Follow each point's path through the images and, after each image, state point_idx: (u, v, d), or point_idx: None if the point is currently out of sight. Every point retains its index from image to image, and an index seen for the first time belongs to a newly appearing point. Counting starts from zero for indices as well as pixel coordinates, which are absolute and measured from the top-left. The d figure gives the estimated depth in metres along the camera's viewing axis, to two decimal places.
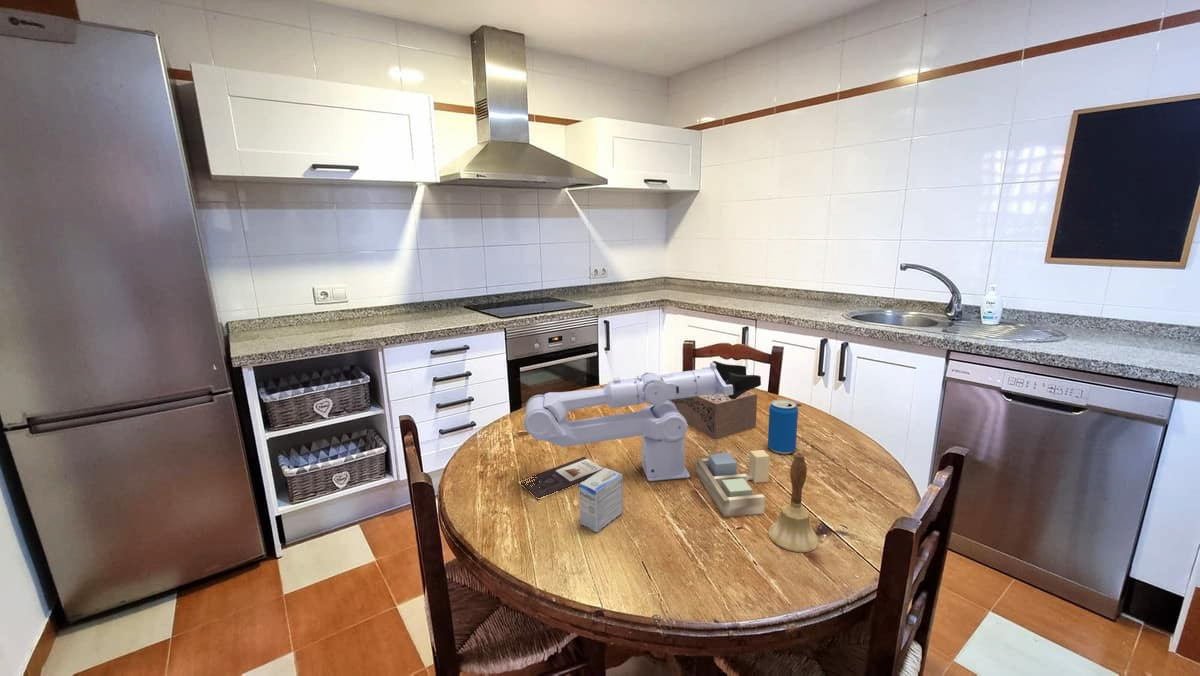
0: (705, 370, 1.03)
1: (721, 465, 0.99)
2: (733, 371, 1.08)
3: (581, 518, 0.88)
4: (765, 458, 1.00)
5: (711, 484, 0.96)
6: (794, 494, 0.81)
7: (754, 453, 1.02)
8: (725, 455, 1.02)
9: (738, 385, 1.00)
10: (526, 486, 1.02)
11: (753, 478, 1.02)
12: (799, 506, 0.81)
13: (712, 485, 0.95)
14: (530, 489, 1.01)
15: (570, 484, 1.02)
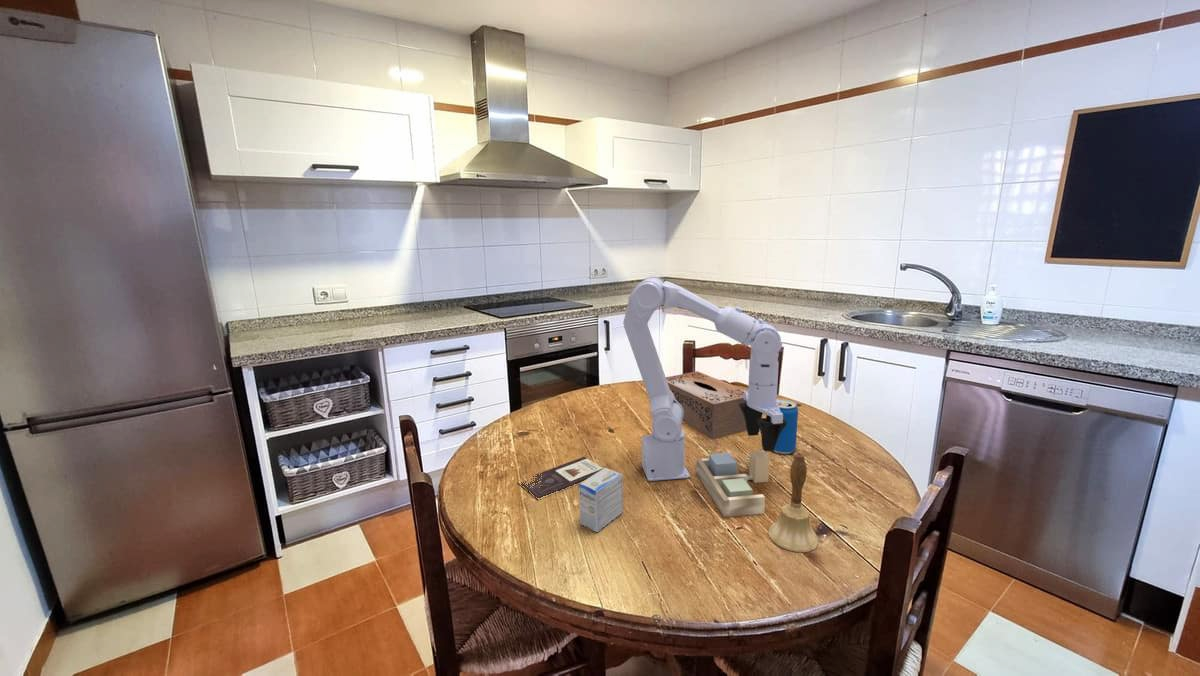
0: None
1: (721, 465, 0.99)
2: (754, 422, 1.04)
3: (581, 518, 0.88)
4: (765, 458, 1.00)
5: (711, 484, 0.96)
6: (794, 494, 0.81)
7: (754, 453, 1.02)
8: (725, 455, 1.02)
9: (769, 429, 0.96)
10: (526, 486, 1.02)
11: (753, 478, 1.02)
12: (799, 506, 0.81)
13: (712, 485, 0.95)
14: (530, 489, 1.01)
15: (570, 484, 1.02)
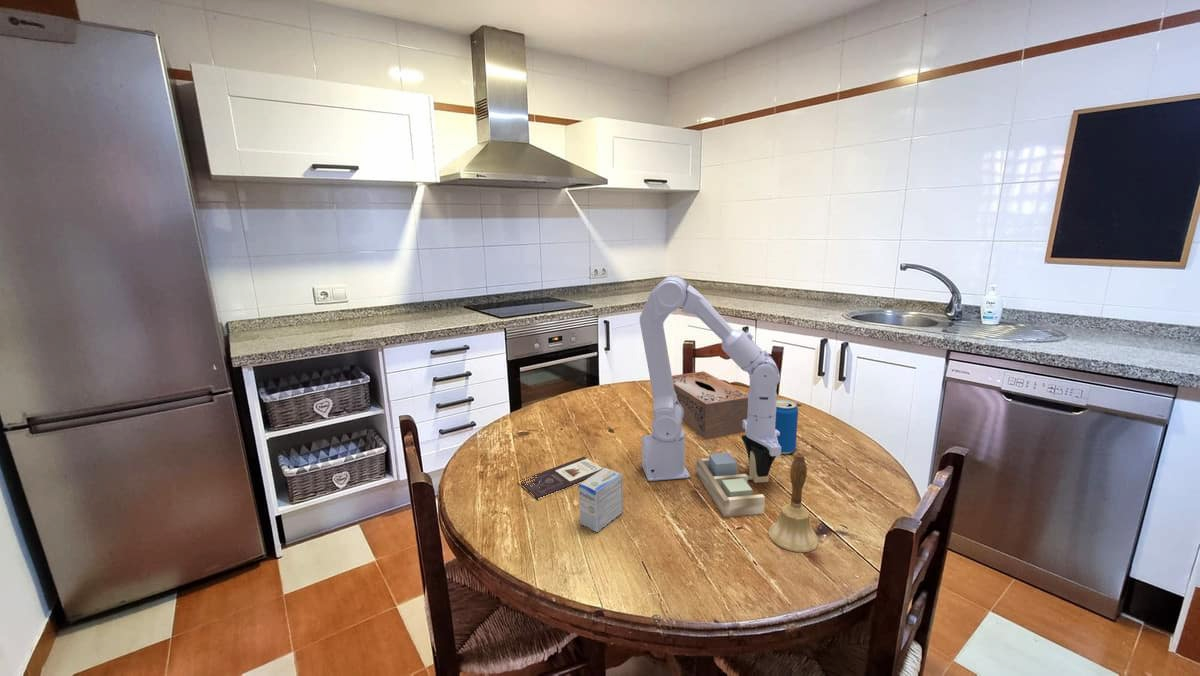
0: None
1: (721, 465, 0.99)
2: None
3: (581, 518, 0.88)
4: None
5: (711, 484, 0.96)
6: (794, 494, 0.81)
7: None
8: (725, 455, 1.02)
9: (763, 455, 0.99)
10: (526, 486, 1.02)
11: (753, 478, 1.02)
12: (799, 506, 0.81)
13: (712, 485, 0.95)
14: (530, 489, 1.01)
15: (570, 484, 1.02)
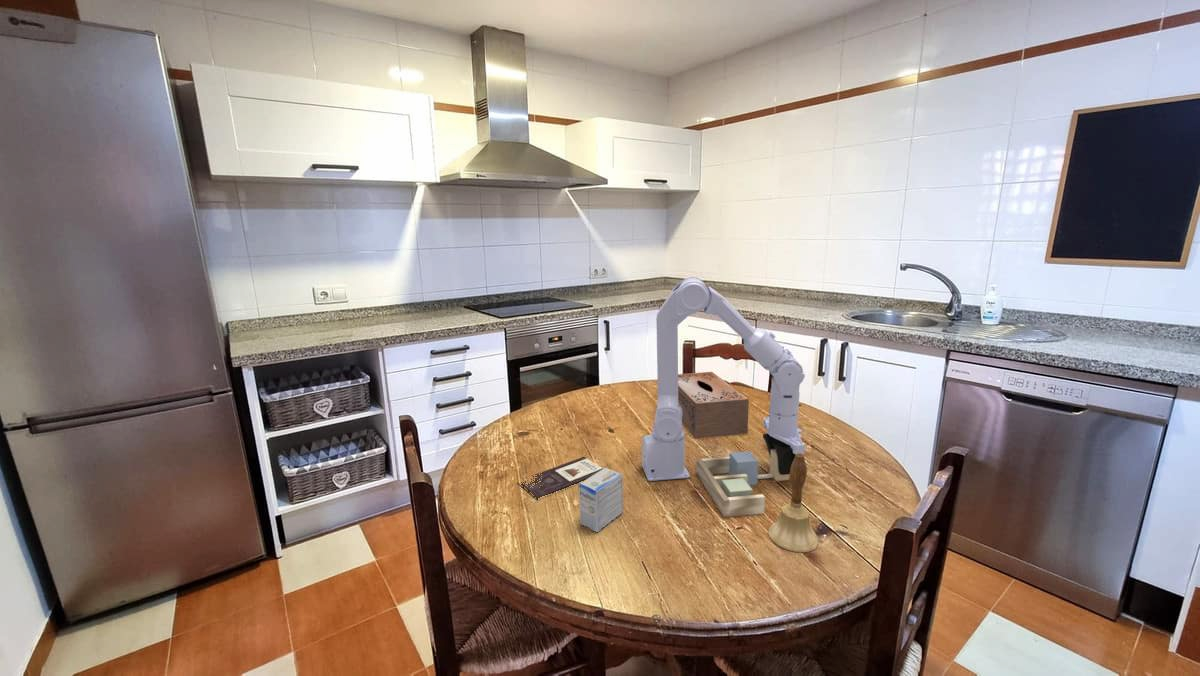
0: None
1: (743, 463, 0.99)
2: None
3: (581, 518, 0.88)
4: None
5: (711, 484, 0.96)
6: (794, 494, 0.81)
7: (775, 451, 1.02)
8: (746, 453, 1.03)
9: (785, 453, 1.00)
10: (526, 486, 1.02)
11: (774, 476, 1.02)
12: (799, 506, 0.81)
13: (712, 485, 0.95)
14: (530, 489, 1.01)
15: (570, 484, 1.02)
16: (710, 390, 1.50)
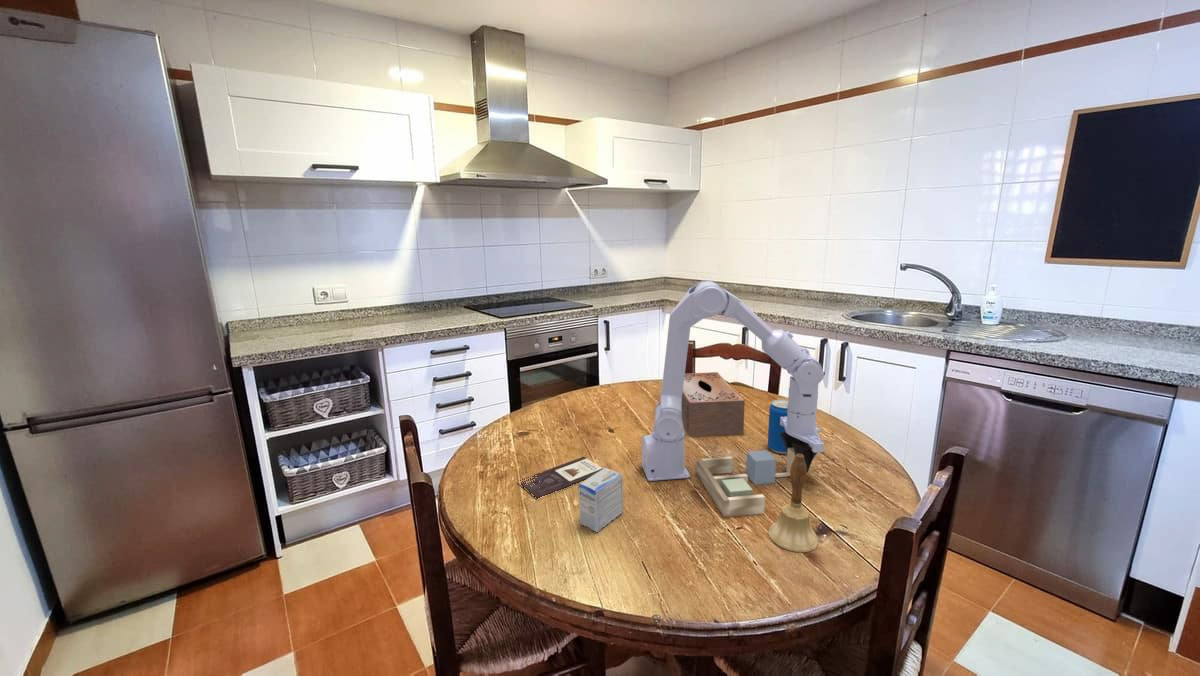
0: None
1: (760, 462, 1.00)
2: None
3: (581, 518, 0.88)
4: None
5: (711, 484, 0.96)
6: (794, 494, 0.81)
7: (792, 450, 1.03)
8: (763, 452, 1.03)
9: (804, 452, 1.00)
10: (525, 486, 1.02)
11: None
12: (799, 506, 0.81)
13: (712, 485, 0.95)
14: (529, 489, 1.01)
15: (569, 484, 1.02)
16: None
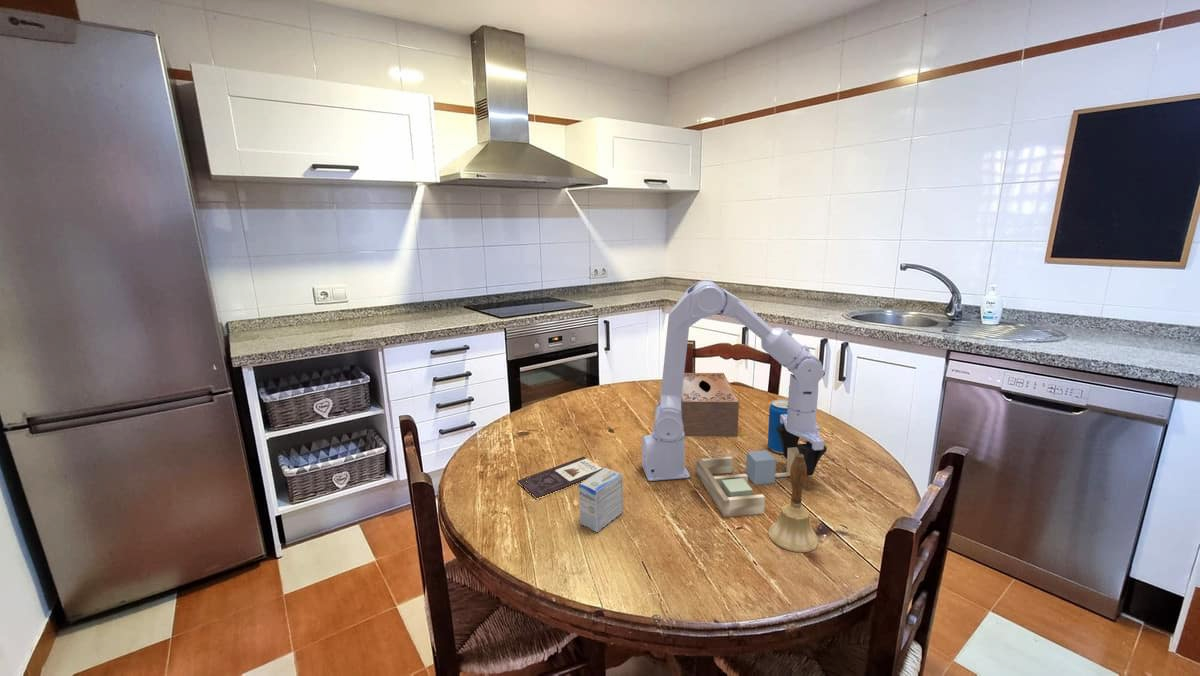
0: None
1: (760, 462, 1.00)
2: (791, 446, 1.06)
3: (581, 518, 0.88)
4: None
5: (711, 484, 0.96)
6: (794, 494, 0.81)
7: (792, 450, 1.03)
8: (763, 452, 1.03)
9: (809, 454, 0.98)
10: (525, 486, 1.02)
11: None
12: (799, 506, 0.81)
13: (712, 485, 0.95)
14: (529, 489, 1.01)
15: (569, 484, 1.02)
16: None
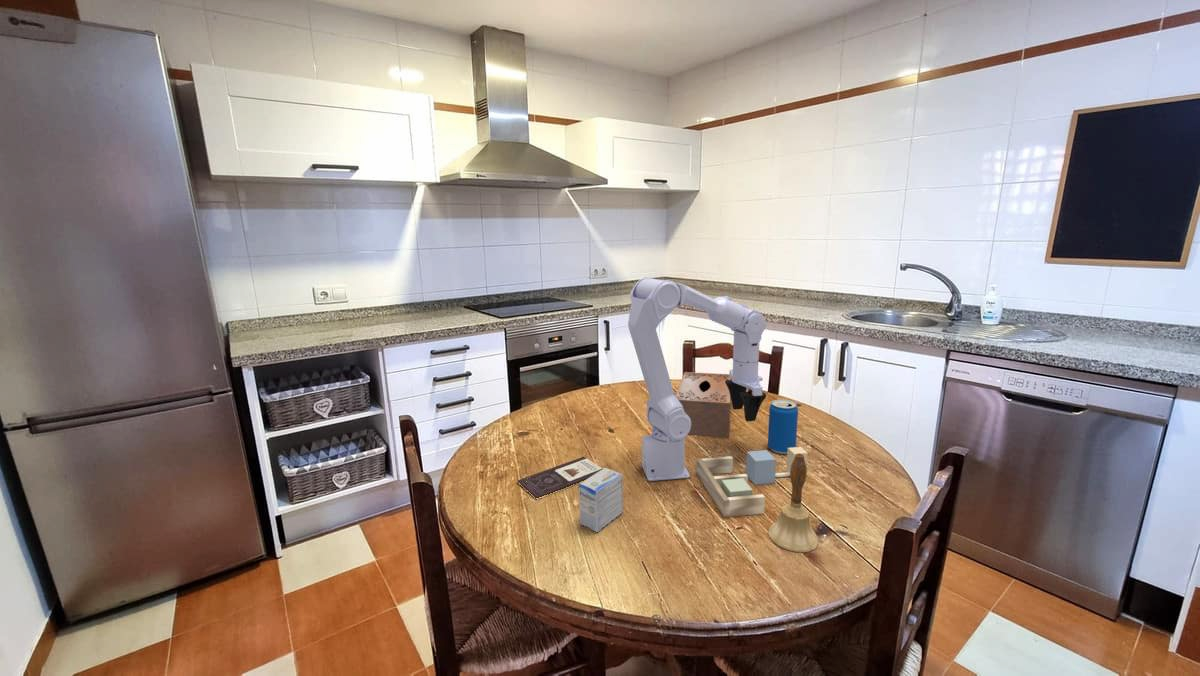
0: None
1: (760, 462, 1.00)
2: (739, 397, 1.16)
3: (581, 518, 0.88)
4: (804, 455, 1.01)
5: (711, 484, 0.96)
6: (794, 494, 0.81)
7: (792, 450, 1.03)
8: (763, 452, 1.03)
9: (751, 401, 1.08)
10: (525, 486, 1.02)
11: None
12: (799, 506, 0.81)
13: (712, 485, 0.95)
14: (529, 489, 1.01)
15: (569, 484, 1.02)
16: None
